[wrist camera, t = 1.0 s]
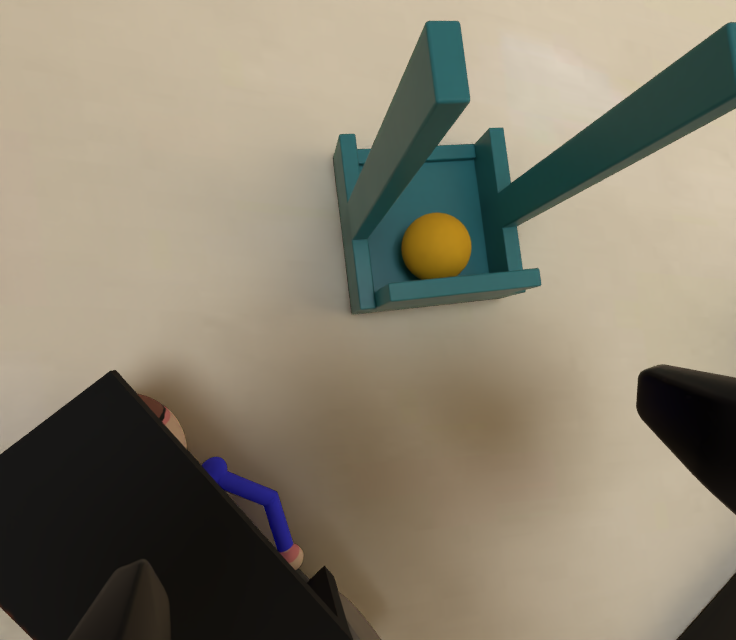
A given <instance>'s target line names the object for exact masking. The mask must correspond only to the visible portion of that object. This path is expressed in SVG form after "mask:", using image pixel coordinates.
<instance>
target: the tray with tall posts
mask: <svg viewBox="0 0 736 640" xmlns="http://www.w3.org/2000/svg"><path fill="white" fill-rule="evenodd" d="M469 102H470V94H469V86H468V79H467V71H466V64H465V56H464V49H463V41H462V34H461V27H460V23H459V22H458V21H428V22H426V23H425V26H424V28H423V30H422V33H421V35H420V37H419V39H418V42H417V44H416V46H415V49H414V51H413V53H412V56H411V58H410V60H409V63H408V65H407V67H406V69H405V72H404V74H403V76H402V79H401V81H400V83H399V86H398V88H397V90H396V92H395V95H394V97H393V99H392V102H391V104H390V106H389V109H388V111H387V113H386V116H385V118H384V120H383V122H382V125H381V127H380V129H379V132H378V134H377V136H376V139H375V141H374V143H373V146H372V148H371V149H357V145H356V137H355V134H340V135H339V138H338V142H337V146H336V149H335V153H334V157H333V162H334V171H335V179H336V187H337V196H338V204H339V212H340V221H341V229H342V237H343V246H344V254H345V262H346V271H347V279H348V287H349V296H350V304H351V312H352V314H353V315H354V314H363V313H372V312H381V311H390V310H399V309H408V308H417V307H426V306H435V305H444V304H453V303H462V302H472V301H481V300H490V299H499V298H504V297H508V296H512V295H516V294H520V293H524V292H525V291H526V290H527V289H531V288H535V287H538V286H541V278H540V271H539V269H538V268H534V269H524V270H523V268H522V261H521V253H520V246H519V239H518V232H517V226H518V225H520V224H522V223H524V222H526V221H527V220H529V219H531V218H533V217H535V216H537V215H539V214H540V213H542V212H544V211H546V210H548V209H550V208H552V207H553V206H555V205H557V204H559V203H561V202H563V201H565V200H566V199H568V198H570V197H572V196H574V195H576V194H578V193H579V192H581V191H583V190H585V189H587V188H589V187H591V186H592V185H594V184H596V183H598V182H600V181H602V180H604V179H605V178H607V177H609V176H611V175H613V174H615V173H617V172H618V171H620V170H622V169H624V168H626V167H628V166H630V165H631V164H633V163H635V162H637V161H639V160H641V159H643V158H644V157H646V156H648V155H650V154H652V153H654V152H656V151H657V150H659V149H661V148H663V147H665V146H667V145H669V144H671V143H672V142H674V141H676V140H678V139H680V138H682V137H684V136H685V135H687V134H689V133H691V132H693V131H695V130H697V129H698V128H700V127H702V126H704V125H706V124H708V123H710V122H711V121H713V120H715V119H717V118H719V117H721V116H723V115H724V114H726V113H728V112H730V111H732V110H734V109H736V22H730V23H727V24H725V25H724V26H723V27H721V28H720V29H719V30H717V31H716V32H715V33H713V34H712V35H711V36H709V37H708V38H707V39H705V40H704V41H703V42H701V43H700V44H698V45H697V46H696V47H694V48H693V49H692V50H690V51H689V52H688V53H686V54H685V55H684V56H682V57H681V58H680V59H678V60H677V61H676V62H674V63H673V64H671V65H670V66H669V67H667V68H666V69H665V70H663V71H662V72H661V73H659V74H658V75H657V76H655V77H654V78H653V79H651V80H650V81H648V82H647V83H646V84H644V85H643V86H642V87H640V88H639V89H638V90H636V91H635V92H634V93H632V94H631V95H630V96H628V97H627V98H626V99H624V100H623V101H621V102H620V103H619V104H617V105H616V106H615V107H613V108H612V109H611V110H609V111H608V112H607V113H605V114H604V115H603V116H601V117H600V118H598V119H597V120H596V121H594V122H593V123H592V124H590V125H589V126H588V127H586V128H585V129H584V130H582V131H581V132H580V133H578V134H577V135H576V136H574V137H573V138H571V139H570V140H569V141H567V142H566V143H565V144H563V145H562V146H561V147H559V148H558V149H557V150H555V151H554V152H553V153H551V154H550V155H549V156H547V157H546V158H544V159H543V160H542V161H540V162H539V163H538V164H536V165H535V166H534V167H532V168H531V169H530V170H528V171H527V172H526V173H524V174H523V175H521V176H520V177H519V178H517V179H516V180H515V181H513V182H512V183H511V181H510V173H509V166H508V159H507V151H506V144H505V137H504V129H503V128H489V129H488V130H487V131H486V132H485V133H484V134H483V136H482V137H481V138H480V139H479V140H478V141H477V142H476V143H475V144H462V145H441V146H437V145H438V144H439V143H440V141H441V140H442V139H443V137H444V136H445V134H446V133H447V132H448V130H449V129H450V128H451V126H452V125H453V124H454V122H455V121H456V120H457V118H458V117H459V116H460V114H461V113H462V112H463V110H464V109H465V108H466V106H467V105H468V104H469ZM429 213H445V214H448V215H451V216H453V217H455V218H456V219H458V220H459V221H460V222H461V223H462V224H463V225H464V226H465V228H466V229H467V231H468V233H469V236H470V239H471V255H470V258H469V261H468V263H467V265H466V267H465V268H464V269H463V270H462V272H461V273H460V274H458V275H457V276H454V277H444V278H433V279H423V280H421V279H419V278H417V277H416V276H414V275H413V274H412V273H411V272H410V271H409V269H408V268H407V267H406V265H405V263H404V260H403V257H402V252H401V245H402V240H403V236H404V234H405V232H406V230H407V228H408V227H409V226H410V225H411V224H412V223H413V222H414V221H415V220H416V219H418V218H419V217H421V216H423V215H426V214H429Z"/></svg>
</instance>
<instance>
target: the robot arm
mask: <svg viewBox="0 0 736 640" xmlns="http://www.w3.org/2000/svg"><path fill="white" fill-rule="evenodd" d="M636 408H637V411H638V414H639V416H640V417H641V419H642V420H643V421H644V422H645V423H646V424H647V425H648V427H649V428H650V429H651V430H652V431H653V432H654V433H655V434H656V435H657V436H658V437H659V438H660V440H661V441H662V442H663V443H664V444H665V445H666V446H667V447H668V448H669V449H670V450H671V451H672V452H673V454H674V455H675V456H676V457H677V458H678V459H679V460H680V461H681V462H682V463H683V464H684V465H685V467H686V468H687V469H688V470H689V471H690V472H691V473H692V474H693V475H694V476H695V477H696V478H697V479H698V480H699V481H700V482H701V483H702V484H703V485H704V486H705V487H706V488H707V489H708V490H709V491H710V492H711V493H712V494H713V495H714V496H715V497H717V498H718V499H719V500H720V501H721V502H722V503H723V504H724V505H725V506H727V507H728V508H729V509H730V510H731V511H732V512H733V513H734V514H735V515H736V378H735V377H729V376H724V375H718V374H713V373H707V372H702V371H697V370H691V369H686V368H680V367H675V366H669V365H656V366H654V367H651V368H648V369H646V370H643V371H642V372H641V373H640V374H639V376H638V386H637V402H636ZM67 640H172V638H171V617H170V604H169V599H168V595H167V592H166V590H165V588H164V587H163V585H162V583H161V582H160V580H159V578H158V576H157V575H156V573H155V571H154V570H153V568H152V566H151V564H150V563H149V562H148V561H147V560H145V559H139V560H137V561H134V562H131V563H129V564H126V565H123V566H121V567H119V568H117V569H116V570H115V571H114V572H113V574H112V575H111V576H110V578H109V579H108V581H107V582H106V584H105V585H104V587H103V588H102V590H101V591H100V592H99V594H98V595H97V597H96V598H95V600H94V601H93V603H92V604H91V606H90V607H89V609H88V610H87V612H86V613H85V614H84V616H83V617H82V619H81V620H80V622H79V623H78V625H77V626H76V628H75V629H74V631H73V632H72V633H71V635H70V636H69V638H68V639H67Z"/></svg>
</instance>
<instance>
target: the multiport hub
mask: <svg viewBox="0 0 736 640" xmlns="http://www.w3.org/2000/svg"><path fill="white" fill-rule="evenodd" d="M678 640H736V575H735V576H734V577H733V578H732V579H731V581H730V582H729V583H728V584H727V585H726V586H725V587H724V588H723V590H722V591H721V592H720V593H719V594H718V595H717V596H716V598H715V599H714V600H713V601H712V602H711V603H710V604H709V605H708V607H707V608H706V609H705V610H704V611H703V612H702V613H701V614H700V616H699V617H698V618H697V619H696V620H695V621H694V622H693V624H692V625H691V626H690V627H689V628H688V629H687V630H686V631H685V633H684V634H683V635H682V636H681V637H680V638H679V639H678Z"/></svg>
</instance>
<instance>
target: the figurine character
mask: <svg viewBox="0 0 736 640" xmlns="http://www.w3.org/2000/svg"><path fill="white" fill-rule="evenodd" d="M224 490H225V491H228V492H230V493H233V494H235V495H238V496H240V497H243V498H245V499H248V500H250V501H253V502H255V503H258V504H260V505H263V506H264V509H265V512H266V515H267V518H268V522H269V525H270V528H271V531H272V534H273V537H274V541H275V544H276V547H277V549H276V548H275V547H274V546H273V545H272V544H271V543H270V541H269V540H268V539H267V538H266V537H265V536H264V535H263V534H262V533H261V531H260V530H259V529H258V528H257V527H256V526H255V525H254V524H253V523H252V521H251V520H250V519H249V518H248V517H247V516H246V515H245V514H244V512H243V511H242V510H241V509H240V508H239V507H238V506H237V505H236V504H235V502H234V501H233V500H232V499H231V498H230V497H229V496H228V495H227V494H226V492H225V491H224ZM139 559H145V560H147V561H148V562H149V563H150V564H151V566H152V568H153V570H154V571H155V573H156V575H157V576H158V578H159V580H160V582H161V583H162V585H163V587H164V588H165V590H166V592H167V595H168V599H169V604H170V617H171V638H172V640H381V639H380V637H379V636H378V634H377V633H376V632H375V630H374V629H373V628H372V626H371V625H370V624H369V622H368V621H367V620H366V619H365V617H364V616H363V615H362V614H361V613H360V611H359V610H358V609H357V608H356V607H355V606H354V605H353V604H352V603H351V602H350V601H349V600H348V599H347V598H346V597H345V596H344V595H342V594H341V593H339V592H338V589H337V586H336V582H335V579H334V576H333V575H332V574H331V573H330V571H329V570H328V569H327V568H326V567H325V566H324V567H323V568H321V569H320V570H319V571H318V572H317V573H316V574H315V575H314V576H313V577H312V578H311V579H309V578H308V577H307V576H306V575H305V574H304V573H303V572H302V571H301V570H300V569H299V567H300V566H301V564H302V562H303V551H302V549H301V548H300V547H299V546H298V545H296V544H293V541H292V537H291V534H290V531H289V528H288V525H287V521H286V518H285V515H284V512H283V509H282V505H281V502H280V499H279V496H278V492H277V491H275V490H272V489H270V488H267V487H265V486H262V485H260V484H258V483H255V482H253V481H250V480H248V479H245V478H243V477H240V476H238V475H236V474H233V473H231V472H228V471H227V464H226V462H225V461H224V460H223V459H222V458H220V457H212V458H210V459H208V460H206V461H205V462H204V463H203V464H202V465H200V463H199V462H198V461H197V460H196V459H195V458H194V457H193V456H192V454H191V453H190V452H189V451H188V450H187V444H186V439H185V435H184V432H183V429H182V427H181V425H180V423H179V421H178V420H177V419H176V417H175V416H174V415H173V413H172V412H171V411H170V410H169V409H168V408H166V407H165V406H164V405H162V404H161V403H159V402H158V401H156V400H154V399H152V398H150V397H147V396H144V395H140V394H137V393H136V392H135V391H134V390H133V389H132V388H131V386H130V385H129V384H128V383H127V382H126V381H125V380H124V379H123V378H122V376H121V375H120V374H119V373H118V372H117V371H116V370H113V371H109V372H108V373H107V374H105V375H104V376H103V377H102V378H100V379H99V380H98V381H96V382H95V383H94V384H92V385H91V386H90V387H88V388H87V389H86V390H84V391H83V392H82V393H81V394H79V395H78V396H77V397H75V398H74V399H73V400H71V401H70V402H69V403H67V404H66V405H65V406H63V407H62V408H61V409H59V410H58V411H57V412H56V413H54V414H53V415H52V416H50V417H49V418H48V419H46V420H45V421H44V422H42V423H41V424H40V425H38V426H37V427H36V428H35V429H33V430H32V431H31V432H29V433H28V434H27V435H25V436H24V437H23V438H21V439H20V440H19V441H17V442H16V443H15V444H13V445H12V446H11V447H10V448H8V449H7V450H6V451H4V452H3V453H2V454H0V607H1V608H2V609H3V610H4V611H5V612H6V613H7V614H8V615H9V616H10V617H11V618H12V619H13V620H14V621H15V622H16V623H17V624H18V625H19V626H20V627H21V628H22V629H23V630H24V631H25V632H26V633H27V634H28V635H29V636H30V637H31V638H32V639H33V640H67V639H68V638H69V636H70V635H71V633H72V632H73V631H74V629H75V628H76V626H77V625H78V623H79V622H80V620H81V619H82V617H83V616H84V614H85V613H86V612H87V610H88V609H89V607H90V606H91V604H92V603H93V601H94V600H95V598H96V597H97V595H98V594H99V592H100V591H101V590H102V588H103V587H104V585H105V584H106V582H107V581H108V579H109V578H110V576H111V575H112V574H113V572H114V571H115V570H116V569H117V568H119V567H121V566H123V565H126V564H129V563H131V562H134V561H137V560H139Z"/></svg>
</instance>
